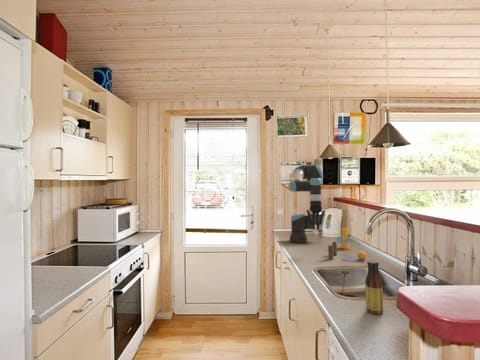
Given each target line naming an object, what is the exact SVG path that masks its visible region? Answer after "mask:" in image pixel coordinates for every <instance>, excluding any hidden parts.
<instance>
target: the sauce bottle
mask: <svg viewBox="0 0 480 360" xmlns="http://www.w3.org/2000/svg"><path fill="white" fill-rule="evenodd" d="M366 262H367V263H366V264H367V275H366V277H365V281H364V285H365V286H364V288H365V290H364V292H365V308H366V312H368V313H369V314H372V315H382V314H383V312H384V295H383V293H384V292H383V281H382V277H381V275H380V274H379V261H377V260H374V259H373V260H368V261H367V260H366Z"/></svg>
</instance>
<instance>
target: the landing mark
mask: <svg viewBox="0 0 480 360" xmlns="http://www.w3.org/2000/svg"><path fill="white" fill-rule="evenodd" d="M367 260H368V257H367V256H366V259H364V260H360V259H359V258H358V257H357V255H356V256H355V255H344V257H343V258H342V259H341V261H345V262H353V263H362V264H363V263H365V264H366V262H367Z"/></svg>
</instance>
